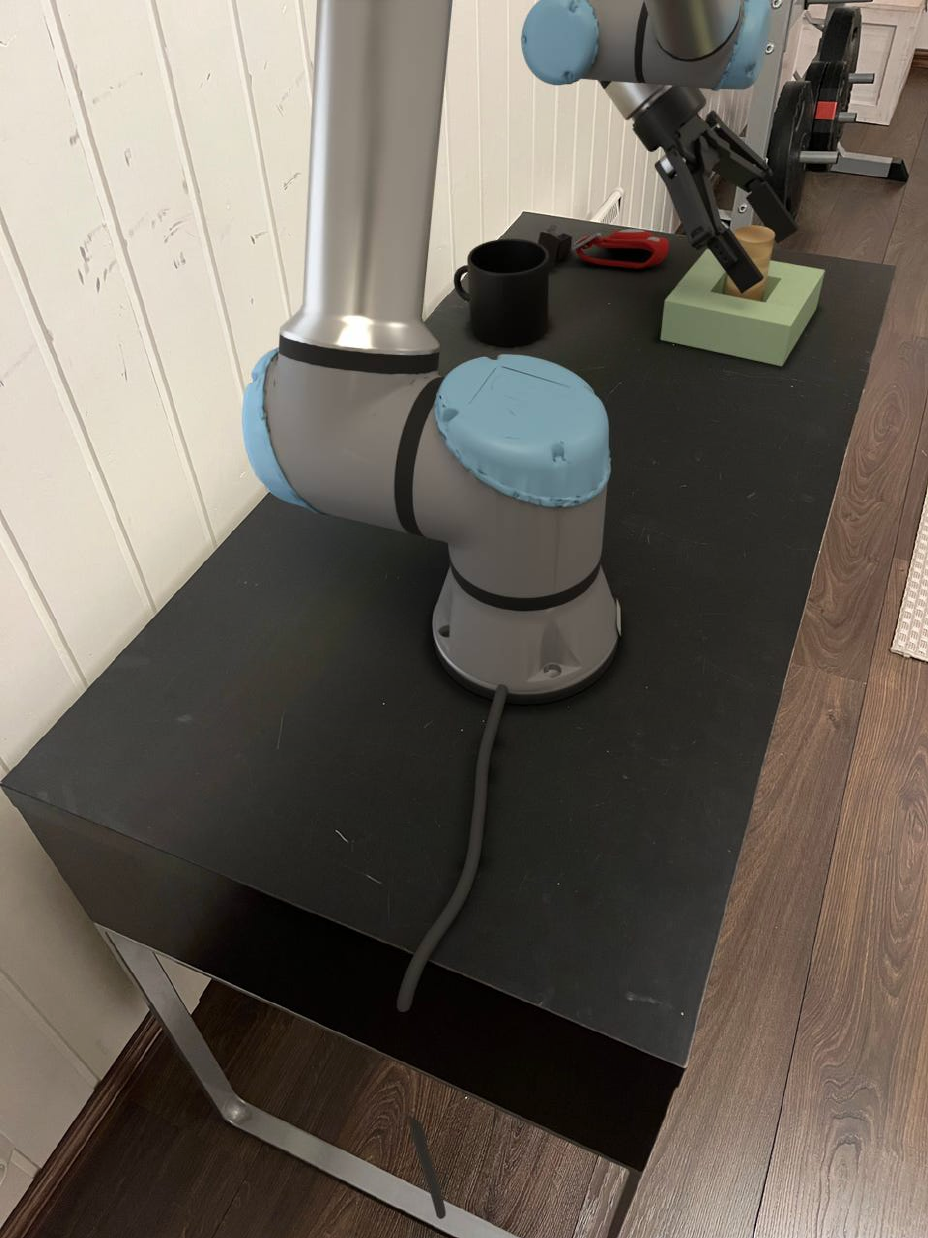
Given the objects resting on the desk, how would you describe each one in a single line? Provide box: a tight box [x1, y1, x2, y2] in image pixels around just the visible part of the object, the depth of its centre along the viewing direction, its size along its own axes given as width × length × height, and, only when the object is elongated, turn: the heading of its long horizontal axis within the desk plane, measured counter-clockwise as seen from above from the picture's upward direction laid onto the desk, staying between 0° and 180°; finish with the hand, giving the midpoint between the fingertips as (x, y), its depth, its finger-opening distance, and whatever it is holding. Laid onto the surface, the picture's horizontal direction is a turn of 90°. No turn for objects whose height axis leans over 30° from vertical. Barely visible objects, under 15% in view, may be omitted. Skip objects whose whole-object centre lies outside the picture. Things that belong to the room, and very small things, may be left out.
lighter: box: [537, 223, 573, 271], centre depth 124 cm, size 8×2×5 cm
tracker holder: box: [571, 228, 670, 270], centre depth 124 cm, size 12×4×10 cm
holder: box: [660, 248, 826, 367], centre depth 111 cm, size 14×14×5 cm
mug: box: [453, 238, 550, 347], centre depth 112 cm, size 9×12×9 cm
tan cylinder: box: [725, 224, 775, 302], centre depth 108 cm, size 4×4×11 cm
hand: (771, 260), depth 105 cm, fingers open, 13 cm apart
